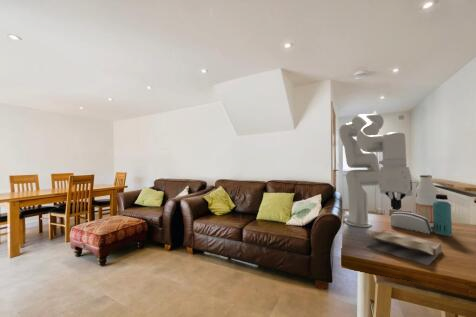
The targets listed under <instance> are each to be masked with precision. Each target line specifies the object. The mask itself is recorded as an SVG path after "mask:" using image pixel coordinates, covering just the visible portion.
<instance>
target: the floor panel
mask: <svg viewBox="0 0 476 317" xmlns="http://www.w3.org/2000/svg"><path fill="white" fill-rule="evenodd" d="M378 232H379V233H384V234H388V235H392V236H396V237H400V238H404V239H408V240H412V241H416V242H420V243H424V244H428V245H429V246H431V247H432V248H434V251H433V255H430V254H427V253H423V252H420V251H416V250H412V249H409V248H405V247H401V246H398V245H394V244H390V243H387V242H383V241H379V240H376V239H374V240H373V241H371V242H370V243H367V244H366V246H365V247H366V248H370V249H372V250H375V251H380V252H382V253H386V254H390V255H392V256H395V257H399V258H402V259H405V260H408V261H411V262H415V263H417V264H421V265H424V266H427V267H428V266H430V264H431V263H433V261H434V260H436V258H437V257H438V256H439V255H441V254H442V243H440V242H436V241H432V240H427V239H423V238H420V237H414V236H410V235H405V234H401V233H398V232H393V231H387V230H381V231H378Z"/></svg>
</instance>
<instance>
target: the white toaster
mask: <svg viewBox="0 0 476 317" xmlns="http://www.w3.org/2000/svg"><path fill="white" fill-rule="evenodd" d="M390 226H392V227H395V228H399V229H400V228H401V229H404V228H405V229H406V230H409V229H410V230H409V231H413V230H415V231H414V232H418V231H420V233H422V232H423V234H427V233H428V235H430V234H431V233H432V232H433V228H431V227H430V225H429V222H428V219H427V218H425V217H423V216H420V215H417V214H416V213H413V212H408V211H395V212H392V213H391V214H390ZM405 229H404V230H405Z"/></svg>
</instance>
